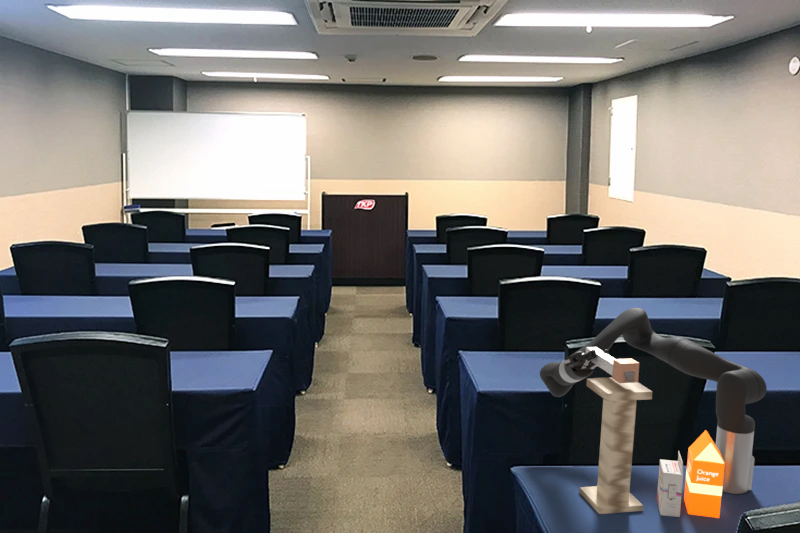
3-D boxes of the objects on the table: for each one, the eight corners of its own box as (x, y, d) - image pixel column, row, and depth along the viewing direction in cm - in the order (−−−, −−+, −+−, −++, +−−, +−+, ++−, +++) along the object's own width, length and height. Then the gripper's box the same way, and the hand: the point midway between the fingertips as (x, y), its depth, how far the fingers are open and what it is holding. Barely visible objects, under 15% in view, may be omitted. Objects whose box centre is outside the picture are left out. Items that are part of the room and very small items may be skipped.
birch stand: (620, 489, 207) (629, 376, 201) (642, 510, 195) (652, 391, 190) (579, 492, 204) (586, 378, 199) (599, 514, 193) (607, 393, 187)
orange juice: (687, 514, 194) (694, 440, 190) (683, 498, 202) (689, 427, 199) (720, 518, 192) (727, 443, 189) (714, 502, 200) (721, 430, 197)
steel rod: (598, 357, 211) (599, 339, 210) (638, 382, 190) (639, 363, 189) (581, 357, 210) (583, 340, 209) (619, 383, 189) (620, 363, 188)
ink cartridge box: (655, 500, 201) (659, 447, 198) (675, 502, 200) (679, 449, 198) (659, 515, 193) (664, 461, 190) (680, 518, 192) (685, 463, 189)
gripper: (551, 355, 220) (574, 340, 204) (596, 354, 222) (622, 338, 206) (555, 381, 217) (578, 368, 201) (600, 379, 220) (627, 365, 204)
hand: (601, 353), depth 204 cm, fingers closed on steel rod, 3 cm apart
